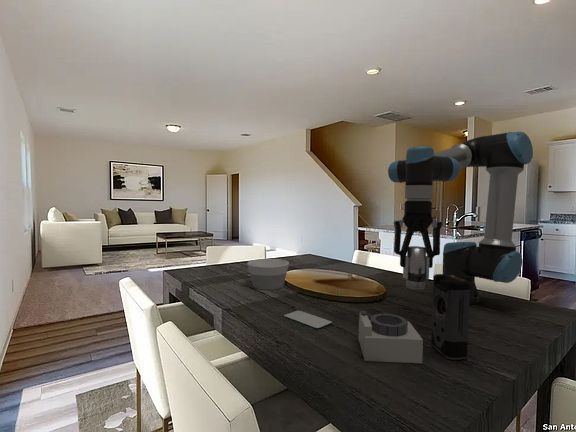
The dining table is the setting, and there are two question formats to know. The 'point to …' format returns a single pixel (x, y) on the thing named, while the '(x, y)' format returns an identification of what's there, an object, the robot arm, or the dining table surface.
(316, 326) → the smartphone
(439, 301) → the electronic device
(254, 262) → the bowl
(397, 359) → the grey base with ring
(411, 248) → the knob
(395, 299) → the dining table surface
